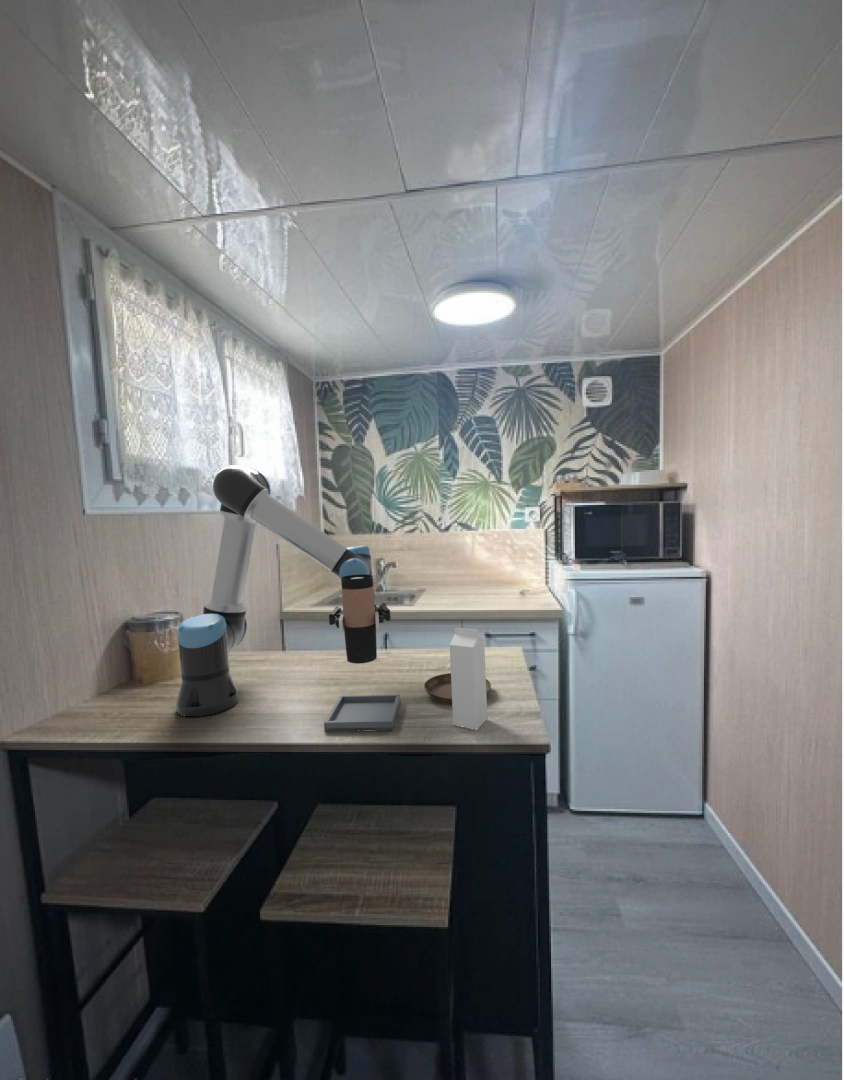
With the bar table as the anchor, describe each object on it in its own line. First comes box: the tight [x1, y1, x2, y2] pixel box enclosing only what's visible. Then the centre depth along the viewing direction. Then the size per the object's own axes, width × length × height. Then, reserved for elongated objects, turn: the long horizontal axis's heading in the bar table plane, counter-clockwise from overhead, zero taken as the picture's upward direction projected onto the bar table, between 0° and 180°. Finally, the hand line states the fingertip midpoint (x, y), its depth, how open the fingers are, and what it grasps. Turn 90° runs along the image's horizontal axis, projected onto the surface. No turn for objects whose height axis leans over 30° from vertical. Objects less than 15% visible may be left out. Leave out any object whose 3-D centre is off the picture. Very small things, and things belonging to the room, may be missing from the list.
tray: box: [323, 693, 401, 733], centre depth 117 cm, size 16×16×2 cm
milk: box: [449, 627, 488, 730], centre depth 111 cm, size 6×6×22 cm
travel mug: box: [340, 574, 378, 664], centre depth 116 cm, size 8×8×20 cm
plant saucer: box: [423, 672, 492, 706], centre depth 128 cm, size 18×18×3 cm
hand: (359, 624), depth 111 cm, fingers closed on travel mug, 8 cm apart
